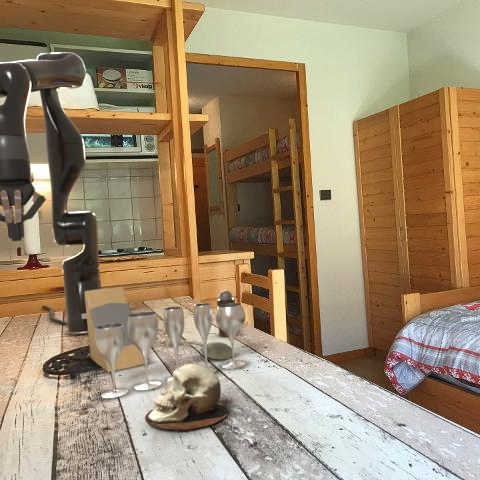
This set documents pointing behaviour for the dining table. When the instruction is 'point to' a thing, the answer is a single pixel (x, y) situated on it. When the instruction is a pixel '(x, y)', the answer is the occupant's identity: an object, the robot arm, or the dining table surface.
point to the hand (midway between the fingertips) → (16, 240)
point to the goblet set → (146, 331)
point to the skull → (188, 400)
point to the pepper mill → (224, 298)
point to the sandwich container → (109, 312)
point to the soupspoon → (214, 349)
